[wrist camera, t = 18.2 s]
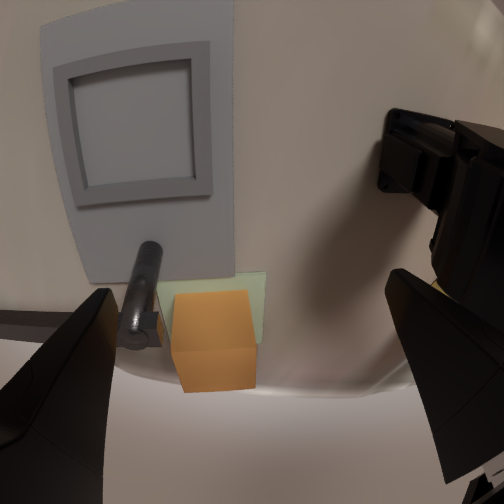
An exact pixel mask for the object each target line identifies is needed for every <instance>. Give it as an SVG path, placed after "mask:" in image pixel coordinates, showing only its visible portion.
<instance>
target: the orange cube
mask: <svg viewBox="0 0 504 504" xmlns="http://www.w3.org/2000/svg"><path fill="white" fill-rule="evenodd" d="M170 352H171V355H172V358H173V361H174V364H175V367H176V370H177V373H178V376H179V379H180V382H181V385H182V388H183V390H184V393H193V392H214V391H231V390H243V389H254V388H255V386H256V356H257V345H256V339H255V333H254V327H253V321H252V315H251V309H250V303H249V296H248V290H247V289H246V290H232V291H217V292H201V293H183V294H175V302H174V313H173V325H172V337H171V351H170Z"/></svg>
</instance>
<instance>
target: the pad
mask: <svg viewBox="0 0 504 504" xmlns="http://www.w3.org/2000/svg"><path fill="white" fill-rule="evenodd" d="M265 282H266V273H265V272H251V273H235V277H221V278H204V279H185V280H165V281H158V284H157V294H158V298H159V302H160V306H161V310H162V314H163V317H164V321H165V325H166V328H167V332H168V336H169V339H170V343H171V337H172V325H173V313H174V302H175V294H183V293H201V292H217V291H232V290H246V289H247V290H248V296H249V303H250V309H251V315H252V321H253V327H254V333H255V339H256V344H262V332H263V316H264V299H265Z"/></svg>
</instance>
